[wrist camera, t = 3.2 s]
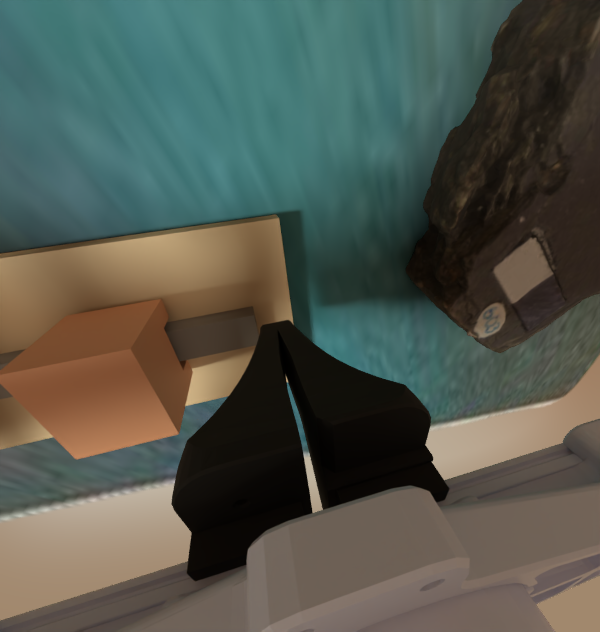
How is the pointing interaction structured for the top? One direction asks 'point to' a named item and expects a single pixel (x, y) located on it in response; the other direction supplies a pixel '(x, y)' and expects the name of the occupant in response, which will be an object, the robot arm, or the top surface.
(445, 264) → the rock sample
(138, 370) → the slider block
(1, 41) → the top surface
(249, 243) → the rail board
